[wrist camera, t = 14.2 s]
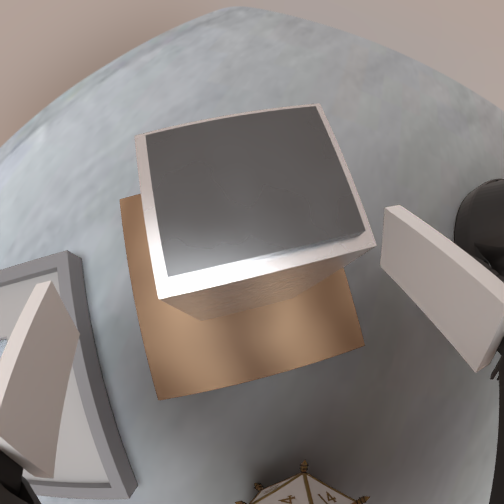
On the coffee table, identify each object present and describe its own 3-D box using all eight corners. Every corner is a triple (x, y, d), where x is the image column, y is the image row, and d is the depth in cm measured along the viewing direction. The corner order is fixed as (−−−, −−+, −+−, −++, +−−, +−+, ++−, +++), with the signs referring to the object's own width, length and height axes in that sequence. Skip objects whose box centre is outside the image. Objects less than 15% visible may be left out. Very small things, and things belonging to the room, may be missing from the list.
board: (301, 171, 25) (306, 159, 23) (354, 345, 22) (365, 345, 20) (127, 209, 24) (119, 199, 22) (164, 395, 20) (158, 400, 18)
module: (272, 226, 22) (322, 95, 9) (292, 298, 21) (382, 241, 8) (184, 246, 21) (131, 128, 9) (201, 321, 20) (155, 297, 7)
